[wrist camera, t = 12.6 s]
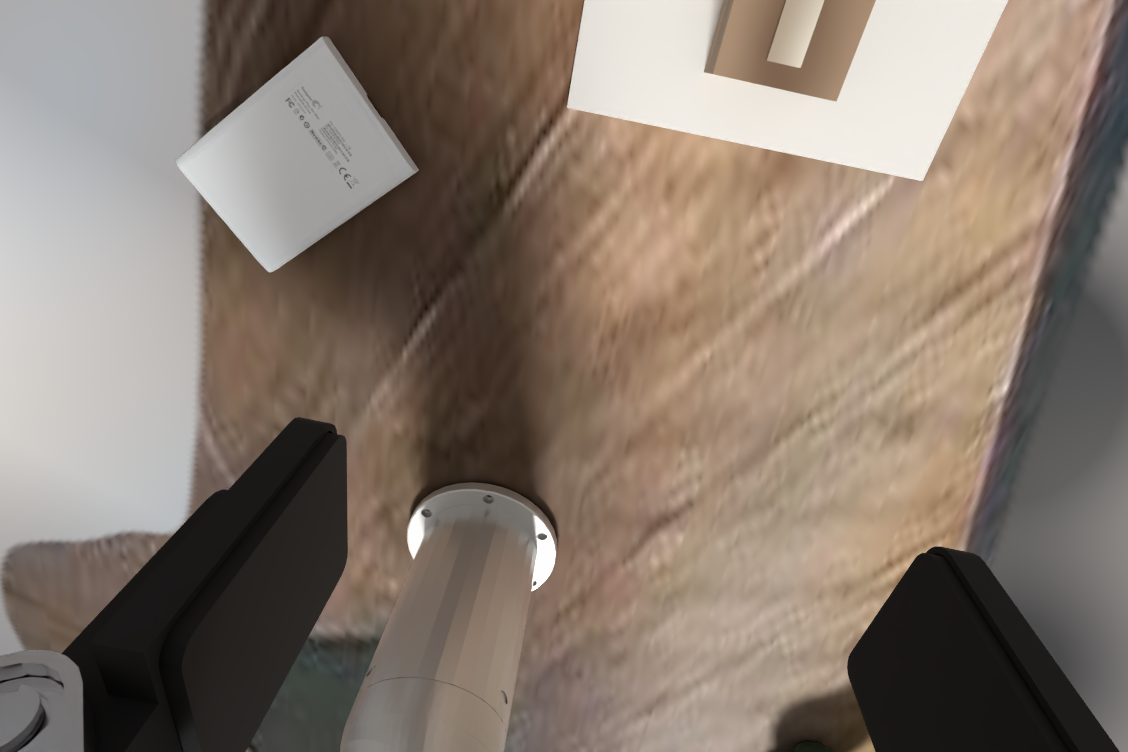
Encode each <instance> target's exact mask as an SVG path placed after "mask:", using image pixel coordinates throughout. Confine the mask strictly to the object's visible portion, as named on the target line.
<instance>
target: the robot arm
mask: <svg viewBox="0 0 1128 752" xmlns="http://www.w3.org/2000/svg"><path fill="white" fill-rule="evenodd" d="M407 543H408V548H409V551H410V553H411V555H412V558H413V560H414V561H413V563H412V565H411V568H410V570H409V573H408V575H407V577H406V580H405V582H404V585H403V587H402V589H401V592H400V594H399V597H398V599H397V601H396V604H395V606H394V609H393V611H392V613H391V616H390V618H389V620H388V623H387V625H386V628H385V630H384V632H383V635H382V637H381V640H380V642H379V644H378V647H377V649H376V652H375V654H374V656H373V659H372V661H371V664H370V666H369V668H368V671H367V673H366V676H365V678H364V680H363V683H362V685H361V687H360V690H359V692H358V695H357V697H356V699H355V702H354V704H353V707H352V709H351V712H350V714H349V717H348V719H347V722H346V725H345V728H344V732H343V736H342V741H341V747H340V752H504V747H505V742H506V736H507V730H508V725H509V719H510V713H511V707H512V702H513V696H514V690H515V684H516V679H517V673H518V667H519V661H520V655H521V650H522V644H523V638H524V632H525V627H526V621H527V615H528V609H529V604H530V598H531V592H532V591H533V590H535V589H537V588H538V587H539V586H541V585H542V584H543V583H544V582H545V581H546V580H547V578H548V577H549V576H550V574H551V573H552V571H553V568H554V565H555V563H556V556H557V538H556V535H555V531H554V529H553V527H552V525H551V523H550V521H549V519H548V518H547V517H546V516H545V514H544V513H543V512H542V511H541V510H540V509H539V508H538V507H537V506H536V505H534V504H533V503H532V502H531V501H530V500H528V499H526V498H525V497H523V496H521V495H520V494H518V493H516V492H513V491H511V490H509V489H506V488H504V487H500V486H496V485H491V484H486V483H475V482H471V483H458V484H453V485H449V486H445V487H443V488H441V489H438V490H436V491H434V492H432V493H431V494H429V495H428V496H427V497H425V498H424V499H423V500H422V501H421V502H420V503H419V505H418V506H417V507H416V509H415V511H414V513H413V515H412V517H411V519H410V522H409V525H408V528H407ZM347 553H348V543H347V450H346V438H345V436H342V435H337V430H336V427H335V425H333V424H330V423H325V422H320V421H315V420H310V419H305V418H300V417H298V418H295V419H293V420H292V421H291V422H290V423H289V424H288V425H287V426H286V427H285V429H284V430H283V431H282V432H281V433H280V434H279V435H278V436H277V437H276V438H275V439H274V441H273V442H272V443H271V444H270V445H269V446H268V447H267V448H266V449H265V450H264V452H263V453H262V454H261V455H260V456H259V457H258V458H257V459H256V460H255V461H254V462H253V464H252V465H251V466H250V467H249V468H248V469H247V470H246V471H245V472H244V473H243V475H242V476H241V477H240V478H239V479H238V480H237V481H236V482H235V483H234V484H233V485H232V487H231V488H230V489H229V490H220V491H218V492H215V493H214V494H213V495H212V496H210V497H209V498H208V499H207V500H206V501H205V502H204V503H203V504H202V505H201V506H200V507H199V508H198V509H197V510H196V511H195V513H194V514H193V515H192V516H191V517H190V518H189V519H188V520H187V521H186V522H185V523H184V524H183V525H182V526H181V527H180V528H179V530H178V531H177V532H176V533H175V534H174V535H173V536H172V537H171V538H170V539H169V540H168V541H167V542H166V543H165V544H164V545H163V547H162V548H161V549H160V550H159V551H158V552H157V553H156V554H155V555H154V556H153V557H152V558H151V559H150V560H149V561H148V562H147V563H146V565H145V566H144V567H143V568H142V569H141V570H140V571H139V572H138V573H137V574H136V575H135V576H134V577H133V578H132V579H131V580H130V582H129V583H128V584H127V585H126V586H125V587H124V588H123V589H122V590H121V591H120V592H119V593H118V594H117V595H116V596H115V597H114V599H113V600H112V601H111V602H110V603H109V604H108V605H107V606H106V607H105V608H104V609H103V610H102V611H101V612H100V613H99V614H98V616H97V617H96V618H95V619H94V620H93V621H92V622H91V623H90V624H89V625H88V626H87V627H86V628H85V629H84V630H83V631H82V632H81V634H80V635H79V636H78V637H77V638H76V639H75V640H74V641H73V642H72V643H71V644H70V645H69V646H68V647H67V648H66V649H65V651H64V652H63V653H62V654H59V653H56V652H52V651H49V650H24V651H19V652H16V653H11V654H6V655H2V656H0V752H246V750H247V748H248V746H249V744H250V743H251V741H252V739H253V737H254V735H255V733H256V731H257V730H258V728H259V726H260V724H261V722H262V720H263V719H264V717H265V715H266V713H267V711H268V709H269V708H270V706H271V704H272V702H273V700H274V698H275V697H276V695H277V693H278V691H279V689H280V687H281V686H282V684H283V682H284V680H285V678H286V676H287V675H288V673H289V671H290V669H291V667H292V665H293V664H294V662H295V660H296V658H297V656H298V654H299V653H300V651H301V649H302V647H303V645H304V643H305V642H306V640H307V638H308V636H309V634H310V632H311V631H312V629H313V627H314V625H315V623H316V621H317V620H318V618H319V616H320V614H321V612H322V610H323V609H324V607H325V605H326V603H327V601H328V599H329V598H330V596H331V594H332V592H333V590H334V588H335V586H336V585H337V583H338V581H339V579H340V577H341V575H342V573H343V570H344V568H345V564H346V561H347ZM847 668H848V675H849V679H850V682H851V685H852V688H853V690H854V693H855V696H856V699H857V701H858V704H859V707H860V710H861V712H862V715H863V718H864V721H865V724H866V726H867V729H868V732H869V735H870V737H871V740H872V743H873V746H874V748H875V751H876V752H1119V750H1118V749H1117V748H1116V746H1115V745H1114V743H1113V742H1112V740H1111V739H1110V738H1109V736H1108V735H1107V733H1106V732H1105V731H1104V729H1103V728H1102V726H1101V725H1100V723H1099V722H1098V721H1097V719H1096V718H1095V716H1094V715H1093V714H1092V712H1091V711H1090V709H1089V708H1088V707H1087V705H1086V704H1085V703H1084V701H1083V700H1082V698H1081V697H1080V696H1079V694H1078V693H1077V691H1076V690H1075V688H1074V687H1073V686H1072V684H1071V683H1070V682H1069V680H1068V679H1067V677H1066V676H1065V674H1064V673H1063V672H1062V670H1061V669H1060V667H1059V666H1058V665H1057V663H1056V662H1055V660H1054V659H1053V658H1052V656H1051V655H1050V653H1049V652H1048V651H1047V649H1046V648H1045V646H1044V645H1043V643H1042V642H1041V641H1040V639H1039V638H1038V636H1037V635H1036V634H1035V632H1034V631H1033V630H1032V628H1031V627H1030V625H1029V624H1028V622H1027V621H1026V620H1025V618H1024V617H1023V615H1022V614H1021V613H1020V611H1019V610H1018V608H1017V607H1016V606H1015V604H1014V603H1013V601H1012V600H1011V599H1010V597H1009V596H1008V595H1007V593H1006V591H1005V590H1004V589H1003V587H1002V586H1001V584H1000V583H999V582H998V581H997V579H996V577H995V576H994V575H993V573H992V572H991V570H990V569H989V568H988V566H987V565H986V563H985V562H984V561H983V560H982V559H981V558H980V557H979V556H977V555H975V554H973V553H969V552H964V551H959V550H954V549H949V548H944V547H933V548H931V549H929V550H928V551H927V552H926V553H922V554H919V555H918V556H917V557H916V558H915V560H914V561H913V563H912V564H911V565H910V567H909V568H908V570H907V571H906V573H905V574H904V576H903V577H902V579H901V580H900V582H899V583H898V585H897V586H896V587H895V589H894V590H893V592H892V593H891V595H890V596H889V598H888V599H887V601H886V602H885V604H884V605H883V606H882V608H881V609H880V611H879V612H878V614H877V615H876V617H875V618H874V620H873V621H872V623H871V624H870V625H869V627H868V628H867V630H866V631H865V633H864V634H863V636H862V637H861V639H860V640H859V642H858V643H857V644H856V646H855V647H854V649H853V650H852V652H851V653H850V656H849V659H848V666H847Z"/></svg>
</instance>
